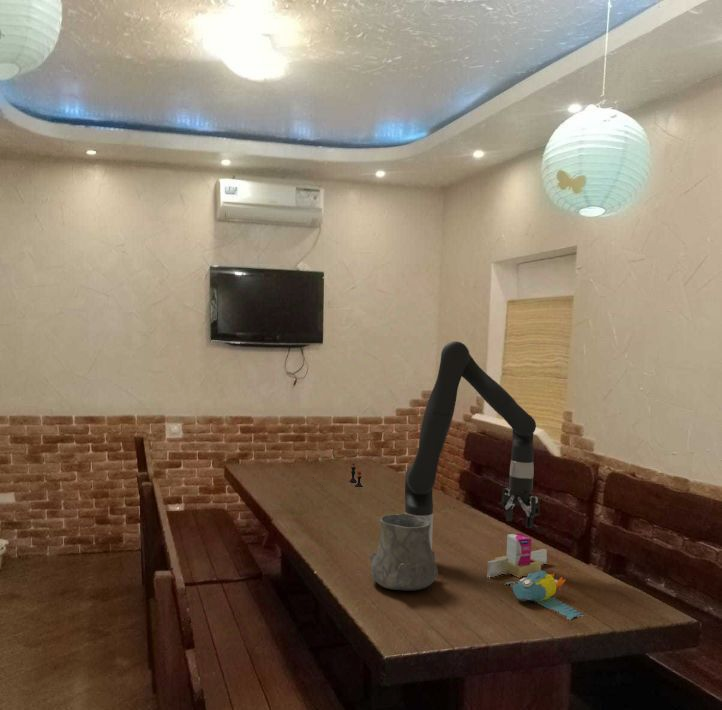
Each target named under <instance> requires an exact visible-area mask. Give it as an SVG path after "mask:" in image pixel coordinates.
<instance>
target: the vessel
mask: <svg viewBox="0 0 722 710" xmlns="http://www.w3.org/2000/svg"><path fill="white" fill-rule="evenodd" d="M379 521H380V522H379V523H380V530H381V531H380V537H379V542H378V546H377V551H376V553H375V552H372V553H371V555H370V561H371V565H370V573H371V576H372V579H373V580H374V581H375V583H377V584H378V585H380V586H381V587H383V588H384V589H389V590H395V591H396V590H397V591H419V590H423V589H425V588H428V587H429V586H431V585H432V584H433V583H434V582H435V581H436V580H437V578H438V574H439V570H438V566H437V563H436V560H435V559H436V557H435V552H434V551H433V549H432V550H431V546H430V541H429V528H430V521H429V520H427V519H426V518H424V517H421V516H416V515H412V514H405V513H397V514H395V513H393V514H386V515H383V516H381V518H380V519H379Z"/></svg>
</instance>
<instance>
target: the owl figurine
mask: <svg viewBox="0 0 722 710" xmlns="http://www.w3.org/2000/svg"><path fill="white" fill-rule="evenodd" d="M563 578H564V577H563V576H561V577H560V578H559V579H555V572H553V573H552V572H551V573H550V574H548V573H547V571H546V570H545V571H544V570H541V571H538V572H535V573H532V574H531V573H529V575H528V576H527V577H523V578H520V580H518V581H517V582H518V584H516V585H515V582H516V581H507V582H505V583H506V584H507V585H506V586H509V584H514V585H513V589H512V590H513V594H514V595H515V597H516V599H518V600H525V601H533V602H534V603H536V602H537V603H538V604H537V603H536V604H537V605H539V604H540V606H541V605H542V607H543V606H544V608H545V607H546V609H547V608H549V609H553V610H556V611H557V612H558V611H559V613H560V614H562V615H564V616H563V617H565V615H566V616H567V617H565V619H566V618H567V619H566V620H568V619H569V621H571V619H572V620H573V619H575V618H574V617H577V615H578V616H582V617H581V618H584V617H585V614H582V612H579V611H578V610H577V609H574V607H573V606H570V605H568V604H567V603H563V600H562V601H561V600H560V599H558V598H557V599H556V597H553V596H554V595H555V594H556V592H557V589H558V590H559V591H561V587H562V586H563V585H564V583H565V582H566V578H565V579H563ZM549 609H548V610H549ZM560 614H559V615H560ZM580 614H581V615H580ZM562 615H561V616H562ZM583 616H584V617H583Z"/></svg>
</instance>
